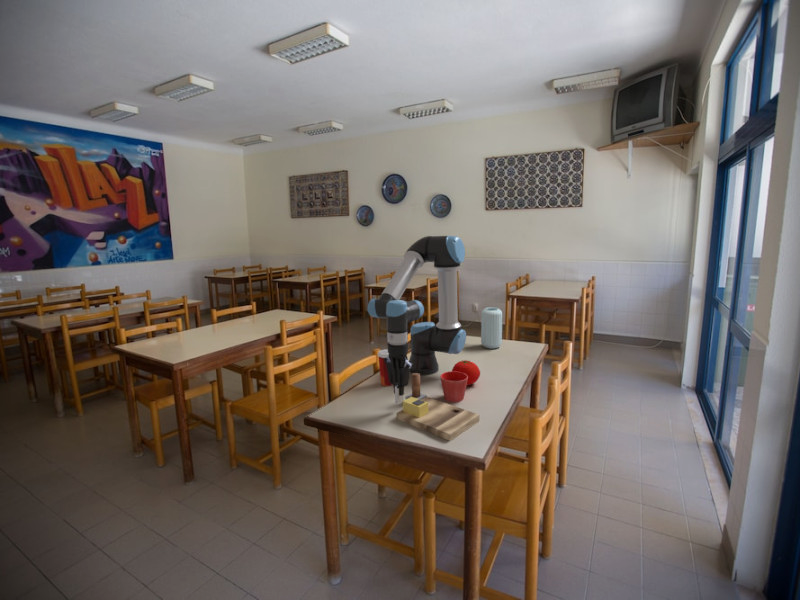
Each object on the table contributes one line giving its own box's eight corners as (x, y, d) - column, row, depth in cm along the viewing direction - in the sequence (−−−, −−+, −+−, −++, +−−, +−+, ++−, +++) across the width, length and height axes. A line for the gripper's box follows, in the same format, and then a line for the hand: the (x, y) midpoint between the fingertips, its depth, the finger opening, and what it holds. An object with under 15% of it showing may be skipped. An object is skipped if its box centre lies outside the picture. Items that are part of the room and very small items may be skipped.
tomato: (459, 376, 188) (459, 355, 186) (483, 382, 181) (484, 359, 179) (447, 385, 179) (447, 362, 177) (472, 390, 172) (473, 367, 170)
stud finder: (402, 411, 149) (402, 400, 148) (411, 406, 153) (411, 395, 152) (419, 417, 144) (419, 406, 143) (428, 412, 148) (428, 401, 147)
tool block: (405, 401, 163) (405, 396, 162) (415, 397, 167) (415, 391, 166) (417, 406, 159) (417, 400, 158) (426, 401, 163) (426, 395, 162)
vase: (481, 349, 227) (481, 310, 223) (480, 343, 238) (481, 306, 234) (502, 349, 225) (503, 310, 221) (500, 343, 237) (501, 306, 233)
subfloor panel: (396, 419, 149) (396, 412, 148) (427, 402, 162) (427, 396, 161) (450, 441, 133) (450, 434, 132) (479, 420, 146) (479, 414, 145)
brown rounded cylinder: (410, 401, 163) (409, 374, 161) (415, 398, 165) (415, 372, 163) (416, 403, 160) (416, 376, 158) (422, 400, 163) (421, 374, 161)
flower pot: (461, 406, 157) (461, 382, 156) (436, 400, 163) (435, 377, 161) (471, 396, 166) (471, 373, 164) (447, 391, 172) (447, 369, 170)
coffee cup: (399, 381, 184) (399, 350, 181) (391, 388, 176) (390, 355, 174) (383, 379, 187) (382, 348, 184) (375, 385, 180) (373, 353, 177)
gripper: (377, 341, 151) (380, 400, 155) (403, 348, 142) (405, 410, 146) (391, 337, 156) (393, 394, 160) (417, 343, 147) (418, 403, 152)
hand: (399, 402), depth 153 cm, fingers closed
